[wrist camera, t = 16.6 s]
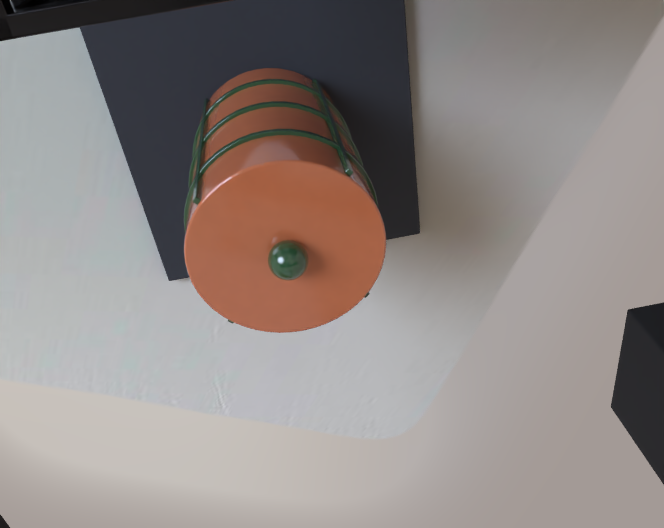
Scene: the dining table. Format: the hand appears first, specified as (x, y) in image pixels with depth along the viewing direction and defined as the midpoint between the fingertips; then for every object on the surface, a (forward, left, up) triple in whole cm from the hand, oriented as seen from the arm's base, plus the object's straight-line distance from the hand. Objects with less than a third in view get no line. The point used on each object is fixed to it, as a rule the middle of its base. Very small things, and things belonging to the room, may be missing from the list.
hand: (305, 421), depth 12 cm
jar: (0, 0, -16) cm, 16 cm away
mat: (0, 0, -16) cm, 16 cm away
